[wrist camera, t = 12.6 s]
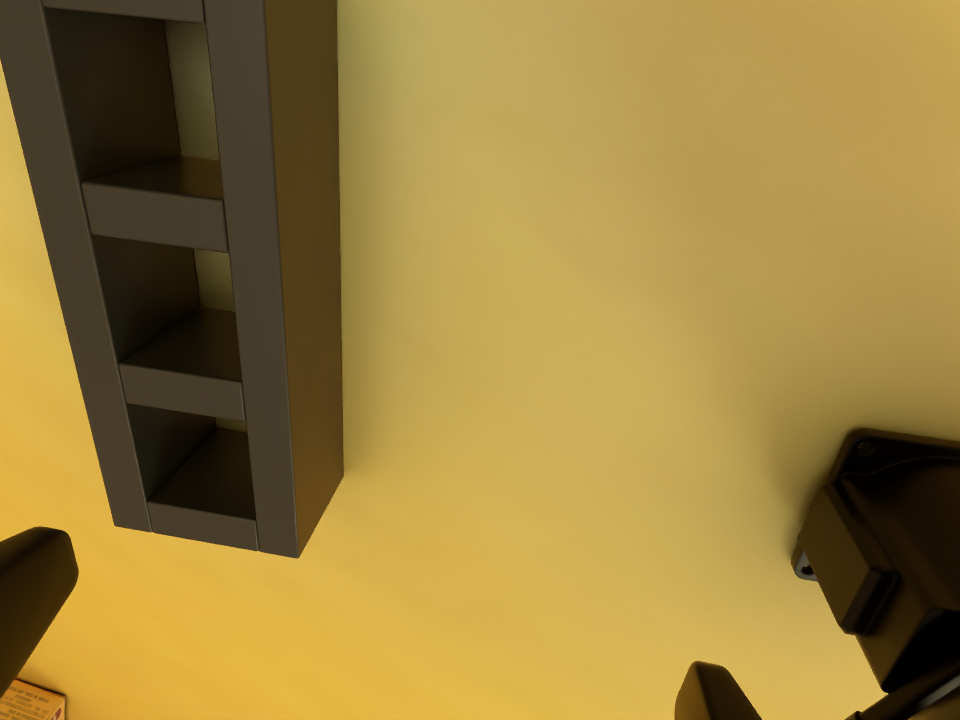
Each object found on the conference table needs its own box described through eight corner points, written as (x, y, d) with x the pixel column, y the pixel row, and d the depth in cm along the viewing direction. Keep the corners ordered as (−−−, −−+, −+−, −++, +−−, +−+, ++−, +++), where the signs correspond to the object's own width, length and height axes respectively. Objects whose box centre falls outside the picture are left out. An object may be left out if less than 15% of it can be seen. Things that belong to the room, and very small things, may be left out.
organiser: (336, -22, 16) (261, -47, 12) (344, 476, 24) (298, 559, 20) (108, -45, 17) (-35, -76, 13) (187, 450, 25) (114, 526, 21)
